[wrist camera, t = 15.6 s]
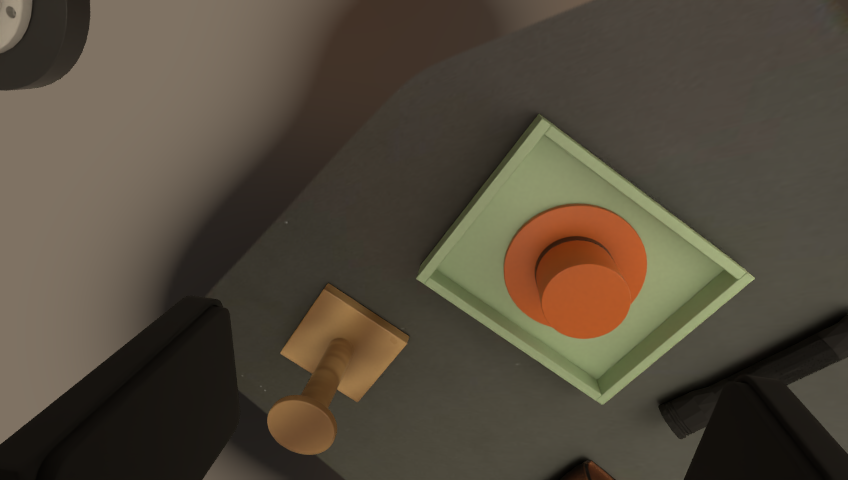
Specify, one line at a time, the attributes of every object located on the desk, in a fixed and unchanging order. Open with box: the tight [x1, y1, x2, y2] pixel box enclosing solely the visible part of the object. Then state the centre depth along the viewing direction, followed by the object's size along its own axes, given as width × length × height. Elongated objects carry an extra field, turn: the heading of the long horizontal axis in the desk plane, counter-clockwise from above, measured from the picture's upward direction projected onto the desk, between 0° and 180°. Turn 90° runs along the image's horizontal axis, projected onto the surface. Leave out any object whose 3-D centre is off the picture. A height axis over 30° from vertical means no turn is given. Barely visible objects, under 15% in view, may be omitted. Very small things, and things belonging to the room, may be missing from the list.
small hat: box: [504, 203, 647, 339], centre depth 34 cm, size 11×11×6 cm
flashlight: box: [659, 315, 848, 439], centre depth 37 cm, size 3×16×3 cm, turn 132°
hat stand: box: [267, 283, 409, 455], centre depth 38 cm, size 9×9×11 cm
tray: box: [416, 114, 755, 405], centre depth 36 cm, size 20×16×3 cm
